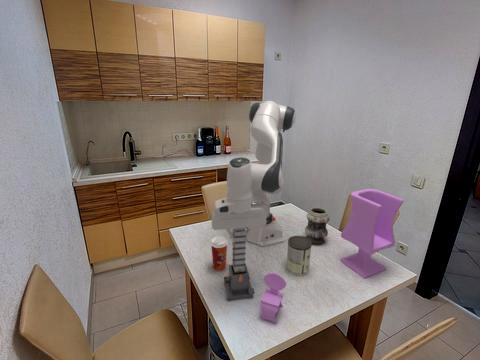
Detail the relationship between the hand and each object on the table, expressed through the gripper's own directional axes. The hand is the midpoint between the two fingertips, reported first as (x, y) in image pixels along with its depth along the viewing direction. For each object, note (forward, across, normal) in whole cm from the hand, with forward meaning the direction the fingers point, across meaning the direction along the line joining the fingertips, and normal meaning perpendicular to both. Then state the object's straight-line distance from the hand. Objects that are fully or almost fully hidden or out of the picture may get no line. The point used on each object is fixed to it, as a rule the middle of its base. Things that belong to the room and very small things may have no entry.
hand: (238, 237), depth 96 cm
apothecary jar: (+25, -48, -30) cm, 62 cm away
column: (+15, 0, 0) cm, 15 cm away
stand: (+24, 0, 0) cm, 25 cm away
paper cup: (+25, +6, -16) cm, 30 cm away
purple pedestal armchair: (+25, -60, -6) cm, 65 cm away
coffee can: (+25, -29, -9) cm, 39 cm away
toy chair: (+25, -10, +13) cm, 30 cm away
